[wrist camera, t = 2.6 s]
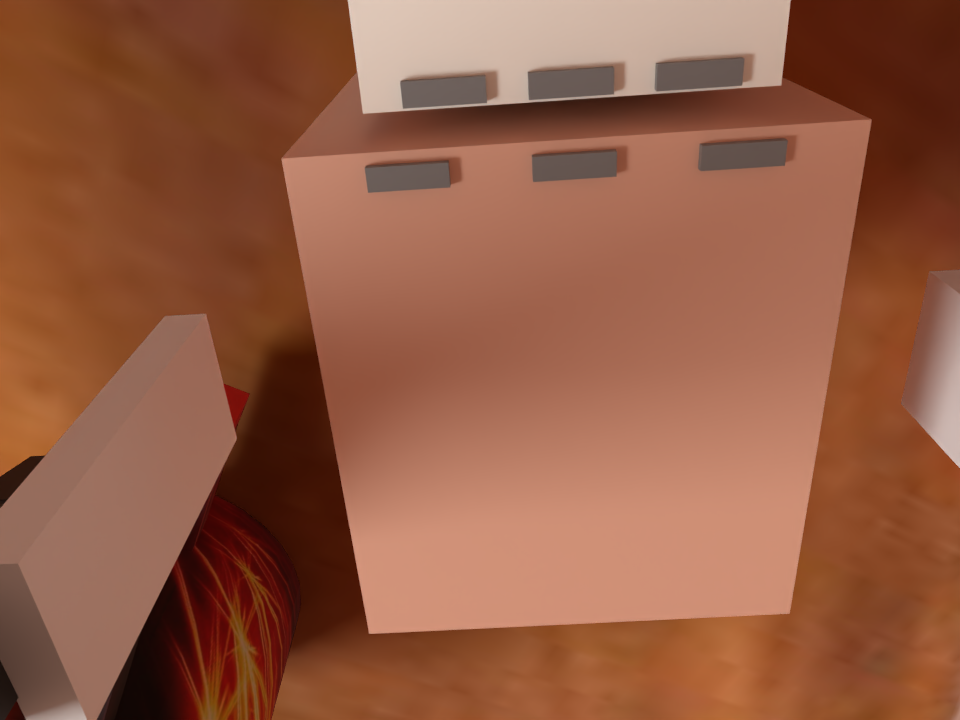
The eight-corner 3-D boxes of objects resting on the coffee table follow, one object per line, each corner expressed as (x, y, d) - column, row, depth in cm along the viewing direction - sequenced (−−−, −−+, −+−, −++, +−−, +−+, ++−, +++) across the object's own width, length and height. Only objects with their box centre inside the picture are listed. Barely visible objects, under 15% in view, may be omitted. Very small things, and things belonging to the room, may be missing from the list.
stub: (380, 44, 19) (278, 161, 9) (670, 24, 19) (876, 121, 9) (415, 338, 23) (368, 639, 13) (656, 324, 23) (792, 618, 13)
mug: (257, 360, 24) (80, 704, 13) (318, 677, 30) (233, 1075, 20) (-61, 370, 24) (-490, 718, 13) (69, 684, 30) (-148, 1082, 20)
